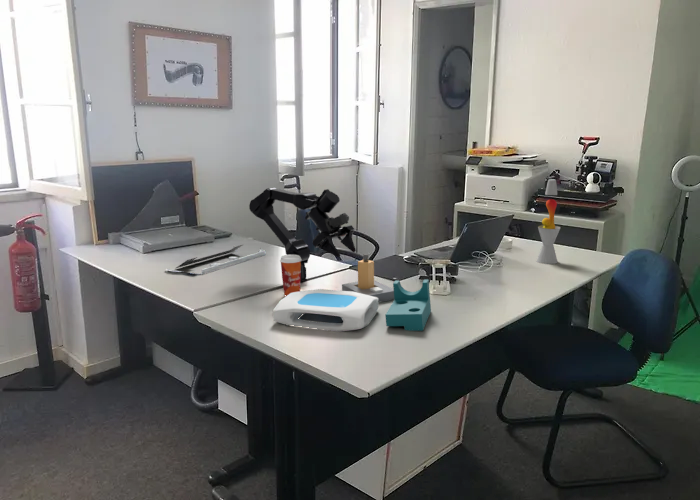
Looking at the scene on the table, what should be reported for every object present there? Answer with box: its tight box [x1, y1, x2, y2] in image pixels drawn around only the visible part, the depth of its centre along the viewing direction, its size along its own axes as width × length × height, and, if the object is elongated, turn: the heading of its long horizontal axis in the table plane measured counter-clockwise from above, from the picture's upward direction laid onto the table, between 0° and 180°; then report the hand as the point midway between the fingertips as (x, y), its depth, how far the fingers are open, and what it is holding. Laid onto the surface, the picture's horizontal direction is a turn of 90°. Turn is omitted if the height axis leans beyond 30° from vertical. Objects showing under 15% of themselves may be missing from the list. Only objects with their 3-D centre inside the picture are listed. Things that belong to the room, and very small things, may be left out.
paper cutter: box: [165, 244, 267, 275], centre depth 251 cm, size 18×45×6 cm, turn 148°
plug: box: [357, 253, 375, 290], centre depth 202 cm, size 4×4×14 cm
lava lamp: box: [535, 178, 561, 265], centre depth 241 cm, size 9×9×35 cm
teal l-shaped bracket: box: [385, 279, 432, 332], centre depth 176 cm, size 18×11×10 cm, turn 165°
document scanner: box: [272, 288, 379, 333], centre depth 179 cm, size 21×28×6 cm
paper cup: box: [279, 254, 302, 297], centre depth 202 cm, size 8×8×14 cm
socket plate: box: [341, 279, 394, 303], centre depth 201 cm, size 13×17×4 cm
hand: (347, 254), depth 205 cm, fingers open, 9 cm apart
